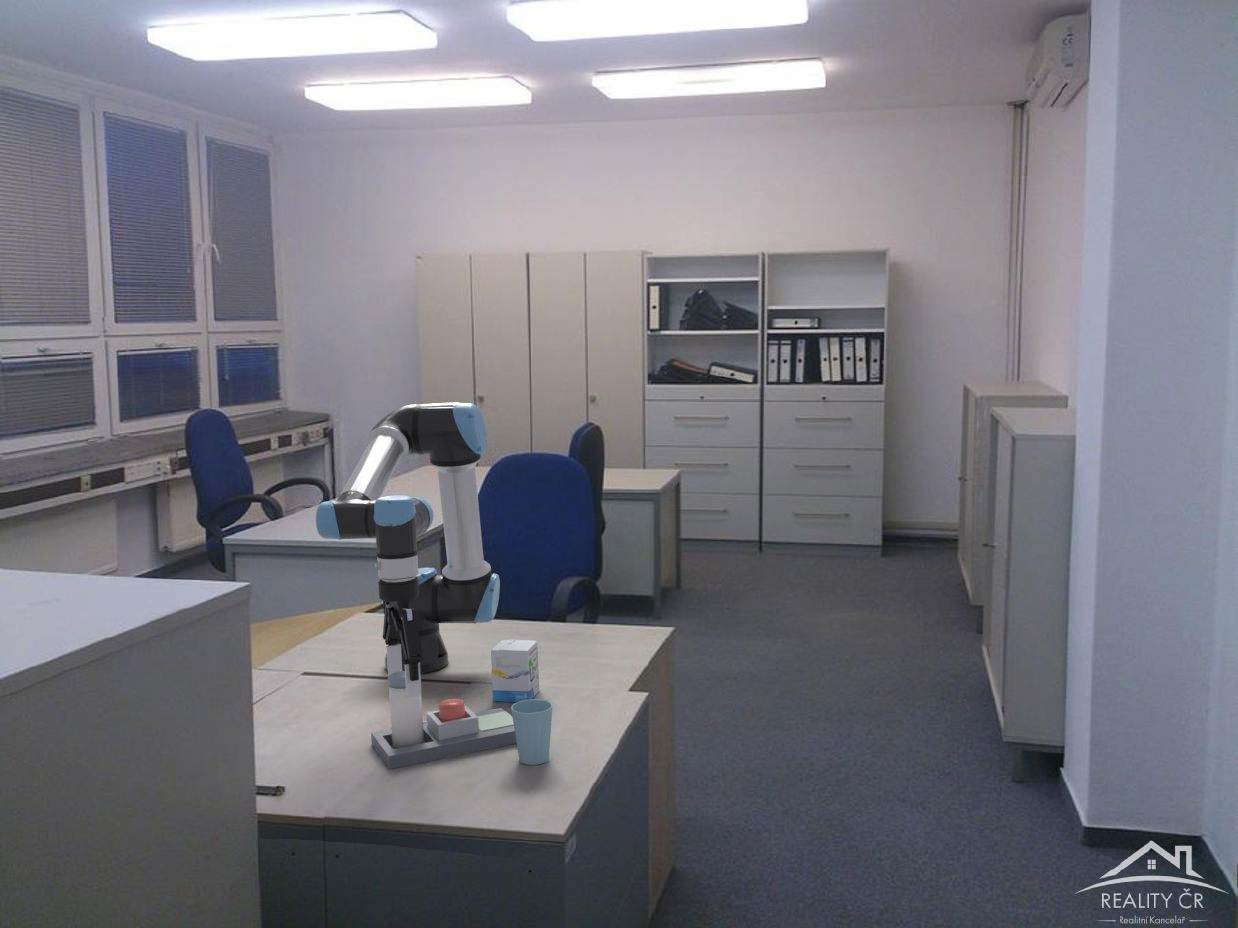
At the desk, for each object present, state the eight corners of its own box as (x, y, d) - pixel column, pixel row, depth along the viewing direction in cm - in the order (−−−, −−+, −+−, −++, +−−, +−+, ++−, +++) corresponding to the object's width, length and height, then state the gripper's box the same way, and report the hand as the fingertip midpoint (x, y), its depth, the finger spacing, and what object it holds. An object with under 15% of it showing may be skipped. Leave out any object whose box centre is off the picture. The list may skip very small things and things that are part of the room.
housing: (371, 744, 217) (370, 717, 216) (501, 719, 228) (500, 693, 228) (389, 768, 204) (387, 740, 203) (525, 740, 216) (524, 713, 215)
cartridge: (388, 748, 214) (384, 674, 212) (420, 742, 217) (415, 668, 215) (397, 759, 209) (392, 682, 207) (428, 752, 211) (424, 677, 209)
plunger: (436, 725, 217) (435, 701, 217) (461, 721, 220) (459, 697, 219) (444, 733, 213) (442, 708, 212) (469, 729, 215) (467, 704, 214)
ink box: (529, 703, 238) (527, 650, 236) (492, 701, 240) (489, 649, 238) (540, 690, 246) (538, 639, 245) (504, 688, 248) (501, 638, 246)
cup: (505, 759, 207) (502, 705, 206) (538, 748, 212) (536, 696, 210) (529, 770, 201) (526, 715, 200) (562, 759, 206) (560, 705, 205)
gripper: (363, 568, 218) (369, 673, 220) (395, 592, 196) (402, 708, 198) (400, 564, 221) (406, 667, 224) (436, 587, 199) (442, 701, 201)
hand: (404, 686), depth 211 cm, fingers open, 13 cm apart
